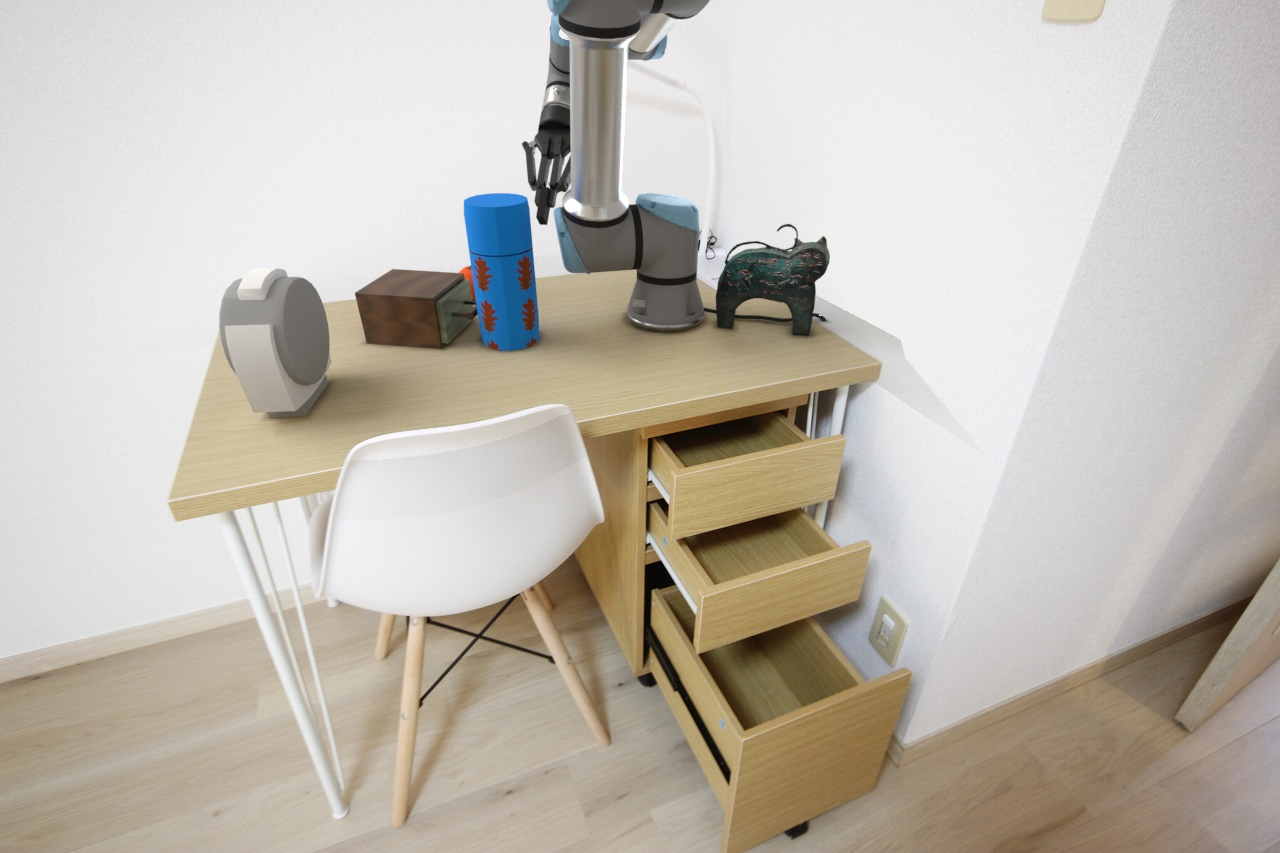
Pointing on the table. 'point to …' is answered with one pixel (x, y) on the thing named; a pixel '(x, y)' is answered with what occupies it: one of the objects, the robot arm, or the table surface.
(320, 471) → the table surface
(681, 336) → the table surface
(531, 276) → the thermos
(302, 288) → the alarm clock
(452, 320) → the drawer
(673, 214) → the robot arm
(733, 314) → the ceramic cat
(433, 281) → the cabinet
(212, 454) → the table surface
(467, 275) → the clementine
